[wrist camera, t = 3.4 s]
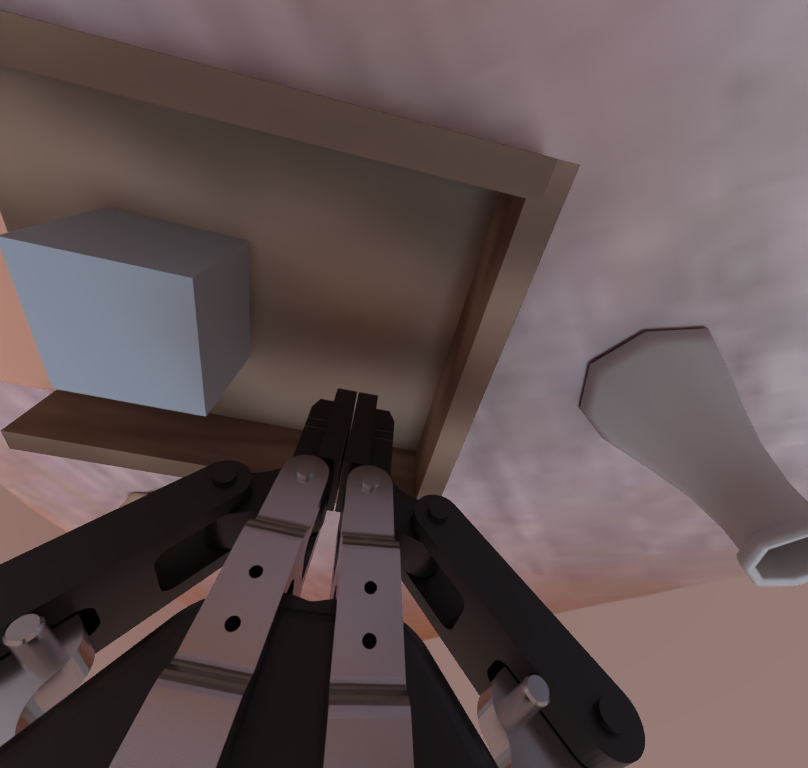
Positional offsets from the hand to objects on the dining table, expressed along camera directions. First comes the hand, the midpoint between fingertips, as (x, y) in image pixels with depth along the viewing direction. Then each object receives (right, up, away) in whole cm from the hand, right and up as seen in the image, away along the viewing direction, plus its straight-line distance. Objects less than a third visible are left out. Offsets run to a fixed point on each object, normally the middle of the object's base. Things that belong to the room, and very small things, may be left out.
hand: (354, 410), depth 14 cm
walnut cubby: (-6, +5, +4) cm, 9 cm away
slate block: (-8, +5, +4) cm, 11 cm away
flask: (+15, +1, +6) cm, 16 cm away
